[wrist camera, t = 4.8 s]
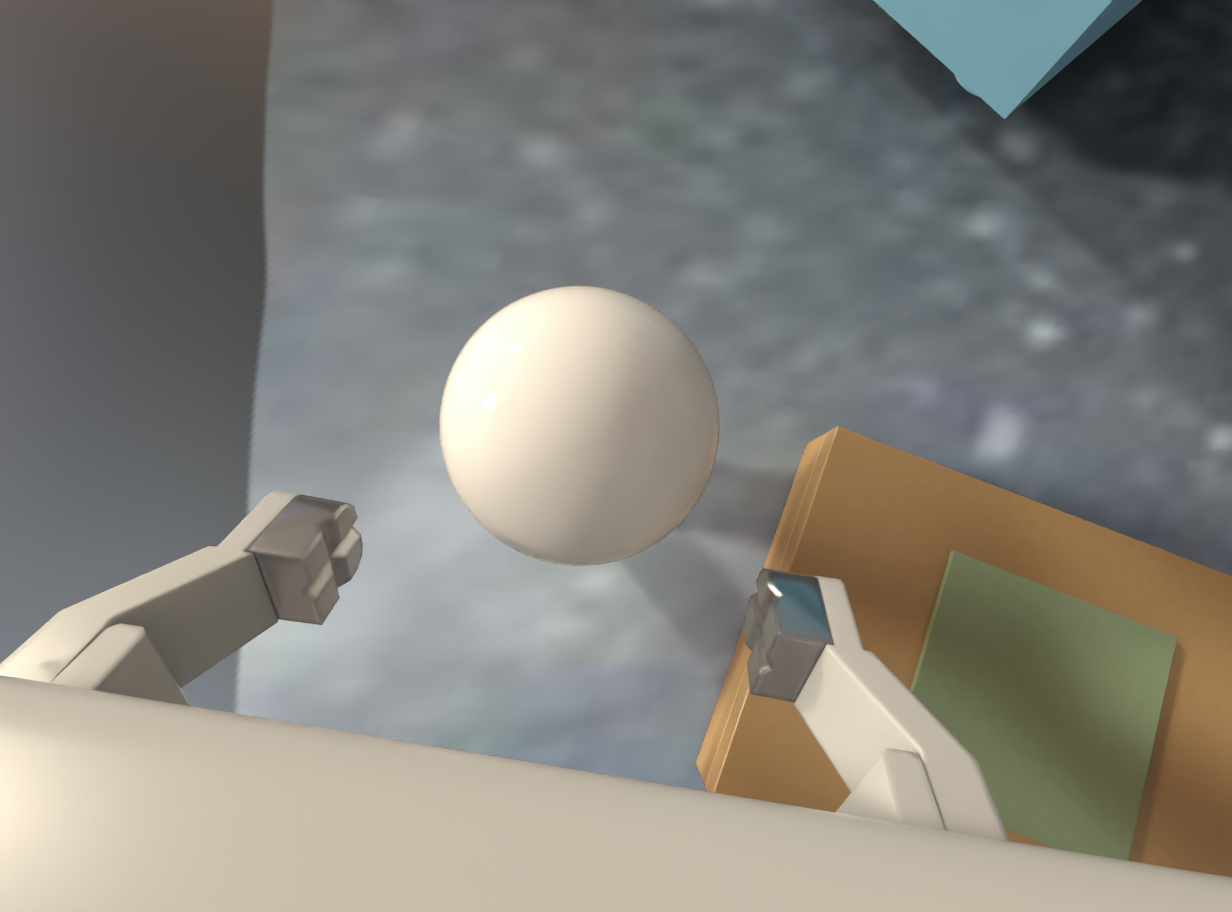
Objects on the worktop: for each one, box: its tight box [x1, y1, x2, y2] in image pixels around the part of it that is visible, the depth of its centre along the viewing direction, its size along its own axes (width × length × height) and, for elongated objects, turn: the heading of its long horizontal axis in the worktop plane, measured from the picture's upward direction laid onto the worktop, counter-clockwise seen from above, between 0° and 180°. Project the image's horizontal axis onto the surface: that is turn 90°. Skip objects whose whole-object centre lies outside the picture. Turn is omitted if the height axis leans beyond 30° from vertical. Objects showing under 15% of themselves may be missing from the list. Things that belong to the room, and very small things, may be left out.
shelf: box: [696, 426, 1232, 877], centre depth 18 cm, size 12×16×3 cm
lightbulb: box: [439, 286, 720, 566], centre depth 16 cm, size 6×6×11 cm
